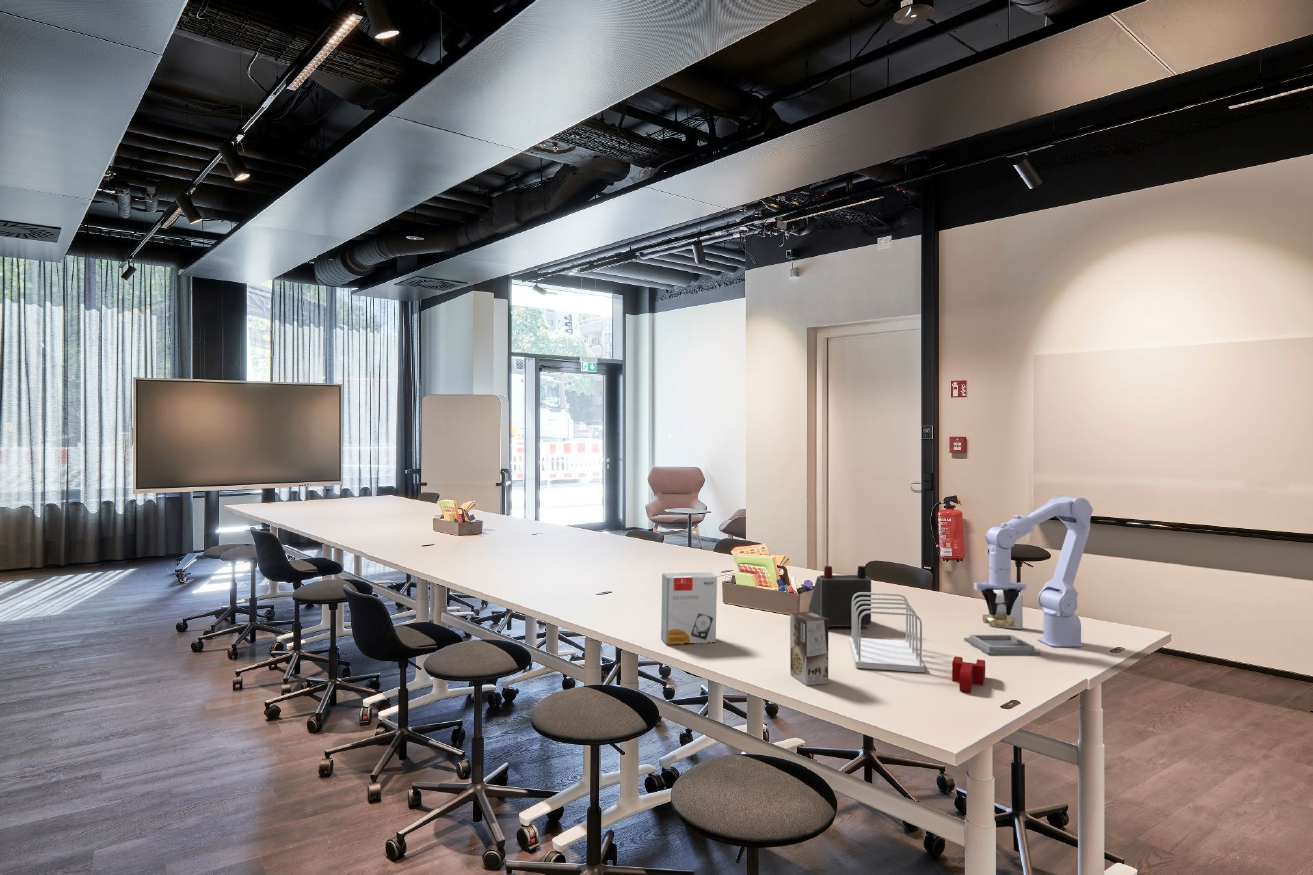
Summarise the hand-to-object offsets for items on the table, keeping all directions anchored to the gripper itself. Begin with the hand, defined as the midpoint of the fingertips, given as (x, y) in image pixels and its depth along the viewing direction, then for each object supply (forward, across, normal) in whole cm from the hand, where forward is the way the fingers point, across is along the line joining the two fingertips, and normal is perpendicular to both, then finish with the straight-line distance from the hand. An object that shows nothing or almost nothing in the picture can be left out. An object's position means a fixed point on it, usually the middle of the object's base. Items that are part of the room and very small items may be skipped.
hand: (999, 614), depth 213 cm
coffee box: (+10, +63, +28) cm, 70 cm away
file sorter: (+10, +37, +10) cm, 40 cm away
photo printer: (+10, -13, -22) cm, 27 cm away
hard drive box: (+10, +91, -6) cm, 92 cm away
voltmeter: (+10, +40, -27) cm, 49 cm away
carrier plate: (+9, 0, +1) cm, 9 cm away
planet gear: (+2, 0, 0) cm, 3 cm away
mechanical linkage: (+10, +24, +32) cm, 41 cm away
